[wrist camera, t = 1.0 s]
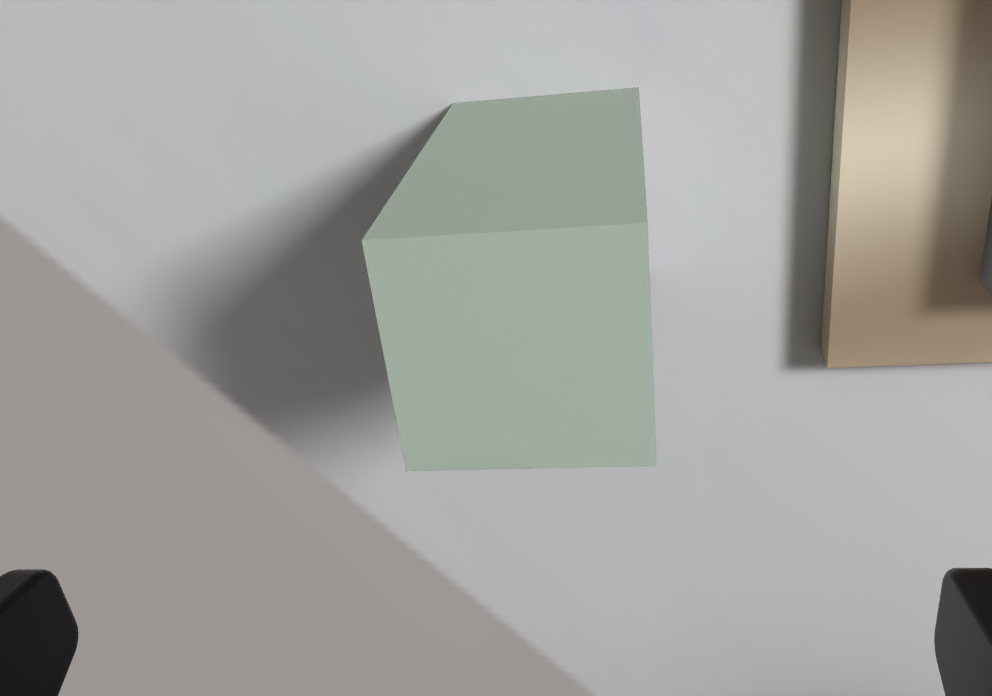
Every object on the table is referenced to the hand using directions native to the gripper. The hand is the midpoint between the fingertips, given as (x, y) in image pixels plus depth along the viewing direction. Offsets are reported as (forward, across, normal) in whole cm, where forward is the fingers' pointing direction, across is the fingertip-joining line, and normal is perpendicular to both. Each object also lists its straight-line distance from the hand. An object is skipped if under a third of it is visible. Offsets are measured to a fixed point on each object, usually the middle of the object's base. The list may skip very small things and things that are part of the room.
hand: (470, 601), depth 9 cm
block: (+13, 0, 0) cm, 13 cm away
